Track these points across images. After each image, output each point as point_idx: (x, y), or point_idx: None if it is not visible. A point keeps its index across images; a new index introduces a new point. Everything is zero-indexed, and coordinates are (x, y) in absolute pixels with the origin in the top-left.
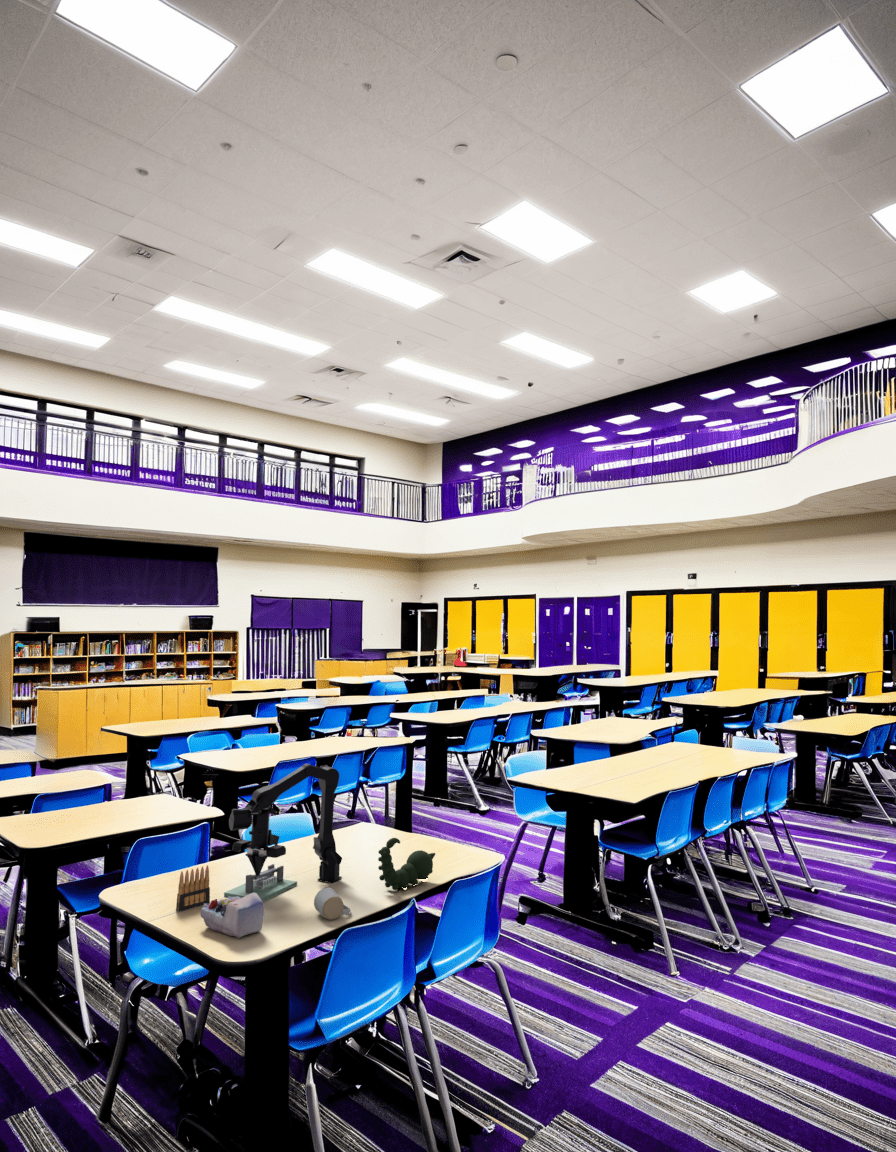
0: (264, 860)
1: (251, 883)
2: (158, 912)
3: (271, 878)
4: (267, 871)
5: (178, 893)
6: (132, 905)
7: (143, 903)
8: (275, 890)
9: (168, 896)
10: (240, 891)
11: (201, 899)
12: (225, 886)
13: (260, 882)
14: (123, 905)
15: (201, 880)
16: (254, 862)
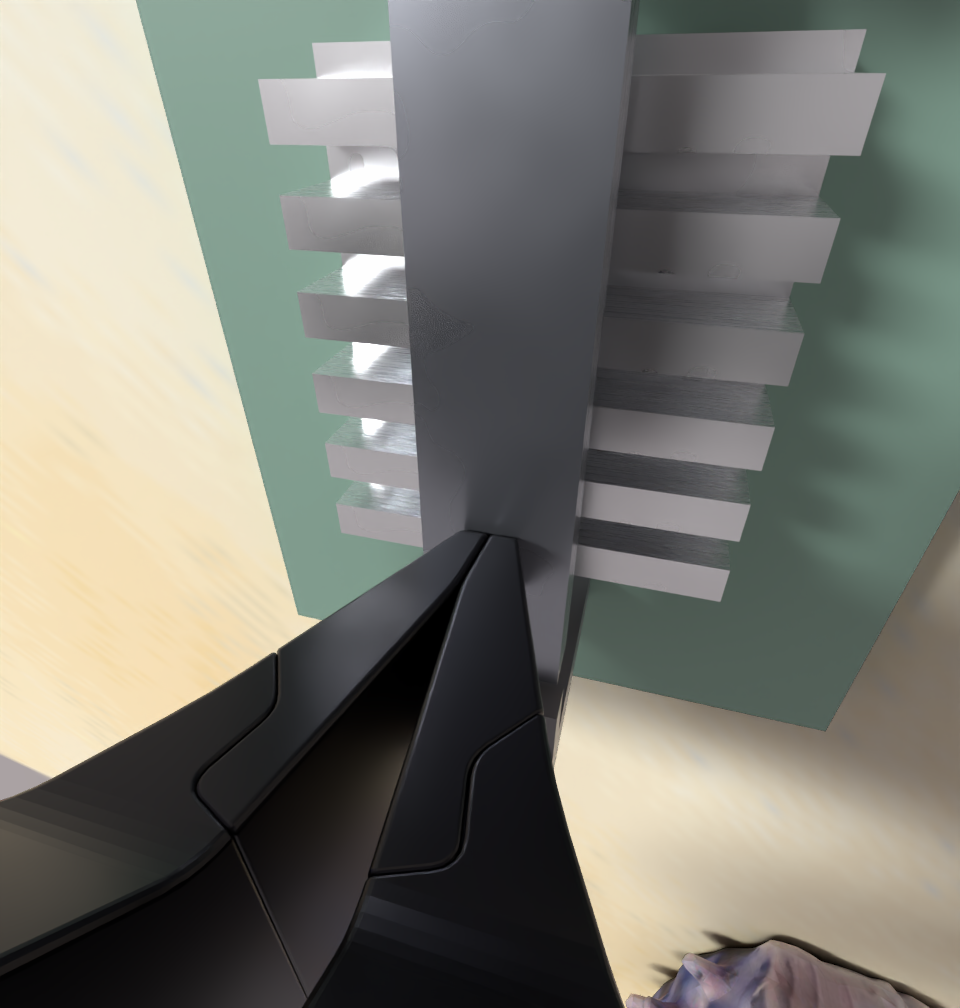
0: (568, 921)
1: (567, 699)
2: None
3: (796, 345)
4: (524, 193)
5: None
6: (63, 762)
7: (66, 741)
8: (948, 403)
9: (29, 647)
10: None
11: None
12: (51, 326)
13: (651, 580)
14: (38, 762)
15: None
16: (346, 921)
